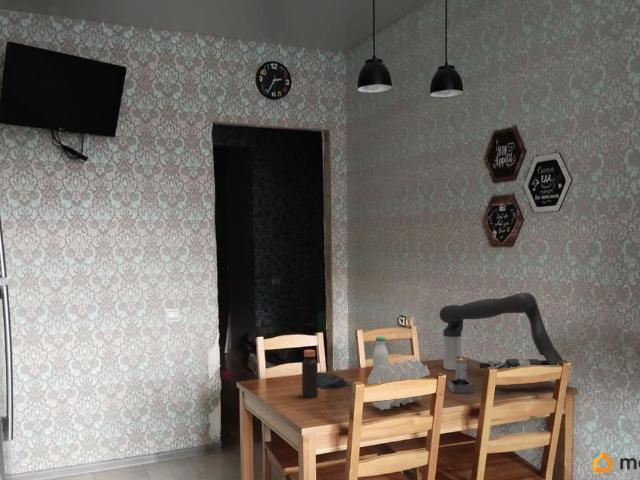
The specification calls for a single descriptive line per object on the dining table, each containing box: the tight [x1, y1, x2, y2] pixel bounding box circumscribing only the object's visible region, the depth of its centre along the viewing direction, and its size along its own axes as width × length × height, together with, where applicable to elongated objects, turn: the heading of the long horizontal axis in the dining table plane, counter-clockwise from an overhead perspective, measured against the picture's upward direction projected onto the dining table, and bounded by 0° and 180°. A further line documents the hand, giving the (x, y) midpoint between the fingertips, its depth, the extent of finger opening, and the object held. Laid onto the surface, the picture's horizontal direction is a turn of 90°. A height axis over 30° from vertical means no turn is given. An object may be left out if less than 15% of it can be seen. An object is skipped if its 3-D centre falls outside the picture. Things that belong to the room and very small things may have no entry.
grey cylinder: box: [455, 356, 468, 385], centre depth 260 cm, size 5×5×14 cm
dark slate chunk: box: [318, 372, 351, 390], centre depth 275 cm, size 15×22×5 cm
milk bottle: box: [372, 336, 390, 370], centre depth 284 cm, size 8×8×20 cm
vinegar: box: [301, 349, 319, 399], centre depth 253 cm, size 7×7×20 cm
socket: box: [448, 379, 475, 394], centre depth 260 cm, size 9×9×4 cm
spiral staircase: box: [366, 358, 430, 411], centre depth 239 cm, size 18×18×25 cm
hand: (482, 367), depth 260 cm, fingers open, 8 cm apart
